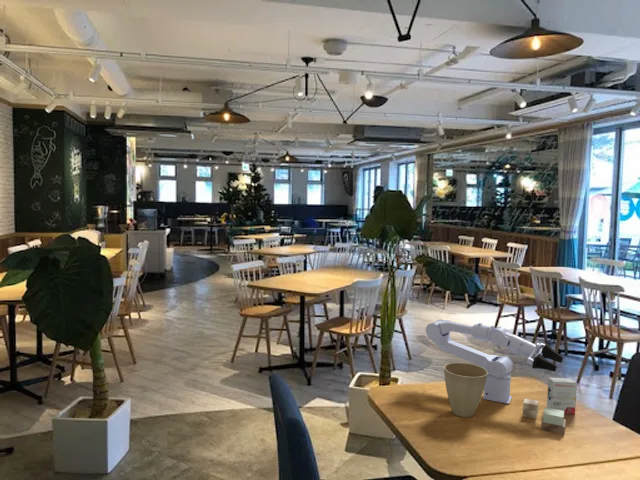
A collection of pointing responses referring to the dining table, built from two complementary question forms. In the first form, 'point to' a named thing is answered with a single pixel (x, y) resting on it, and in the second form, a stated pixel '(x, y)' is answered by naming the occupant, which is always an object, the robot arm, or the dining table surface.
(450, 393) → the plant pot
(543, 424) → the walnut base block
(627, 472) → the dining table surface
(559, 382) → the ink box
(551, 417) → the sage top block
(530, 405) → the maple block
